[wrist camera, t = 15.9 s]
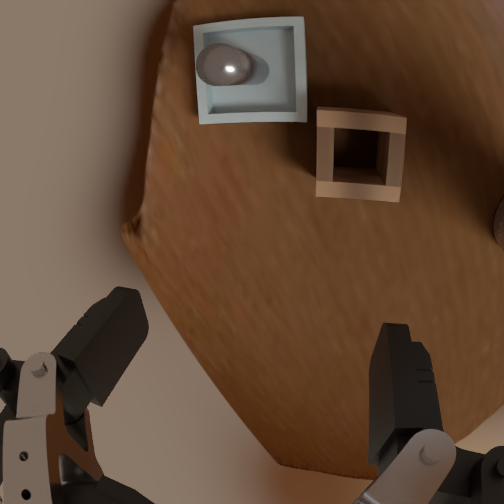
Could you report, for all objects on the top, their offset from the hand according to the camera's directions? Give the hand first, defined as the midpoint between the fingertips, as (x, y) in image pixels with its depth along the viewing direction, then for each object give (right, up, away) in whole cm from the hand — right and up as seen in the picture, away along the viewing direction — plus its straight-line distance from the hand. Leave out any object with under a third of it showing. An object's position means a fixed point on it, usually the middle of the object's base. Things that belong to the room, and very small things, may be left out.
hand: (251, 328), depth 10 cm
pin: (0, +21, +19) cm, 28 cm away
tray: (0, +21, +19) cm, 29 cm away
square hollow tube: (+11, +14, +21) cm, 27 cm away
